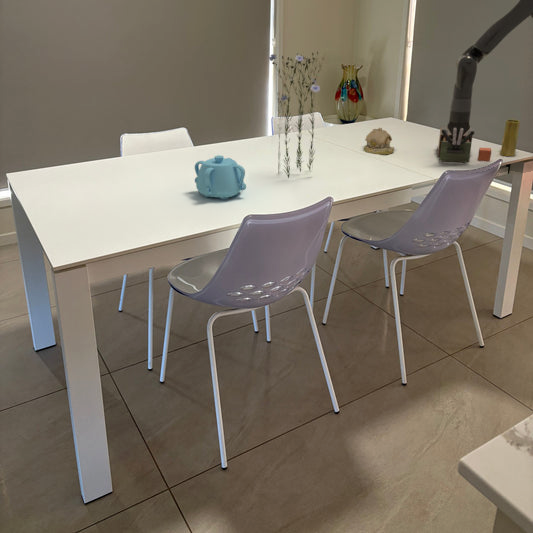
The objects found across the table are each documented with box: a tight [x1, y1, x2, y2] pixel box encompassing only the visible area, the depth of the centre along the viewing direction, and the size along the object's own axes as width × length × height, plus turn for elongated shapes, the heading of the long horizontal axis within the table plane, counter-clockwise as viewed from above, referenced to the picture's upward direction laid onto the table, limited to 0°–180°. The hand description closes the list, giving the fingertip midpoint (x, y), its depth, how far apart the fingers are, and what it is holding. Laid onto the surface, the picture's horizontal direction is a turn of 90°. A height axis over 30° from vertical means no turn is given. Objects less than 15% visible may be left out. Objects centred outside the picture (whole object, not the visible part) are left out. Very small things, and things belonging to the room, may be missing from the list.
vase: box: [499, 118, 521, 157], centre depth 246 cm, size 6×6×14 cm
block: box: [477, 147, 492, 162], centre depth 242 cm, size 4×4×4 cm
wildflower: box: [268, 51, 326, 179], centre depth 215 cm, size 22×23×45 cm
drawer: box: [439, 137, 472, 163], centre depth 240 cm, size 18×11×8 cm, turn 165°
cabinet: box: [437, 126, 473, 158], centre depth 250 cm, size 15×13×10 cm
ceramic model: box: [363, 127, 395, 155], centre depth 255 cm, size 14×11×10 cm
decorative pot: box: [194, 154, 247, 200], centre depth 202 cm, size 16×16×14 cm
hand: (454, 153), depth 234 cm, fingers closed
